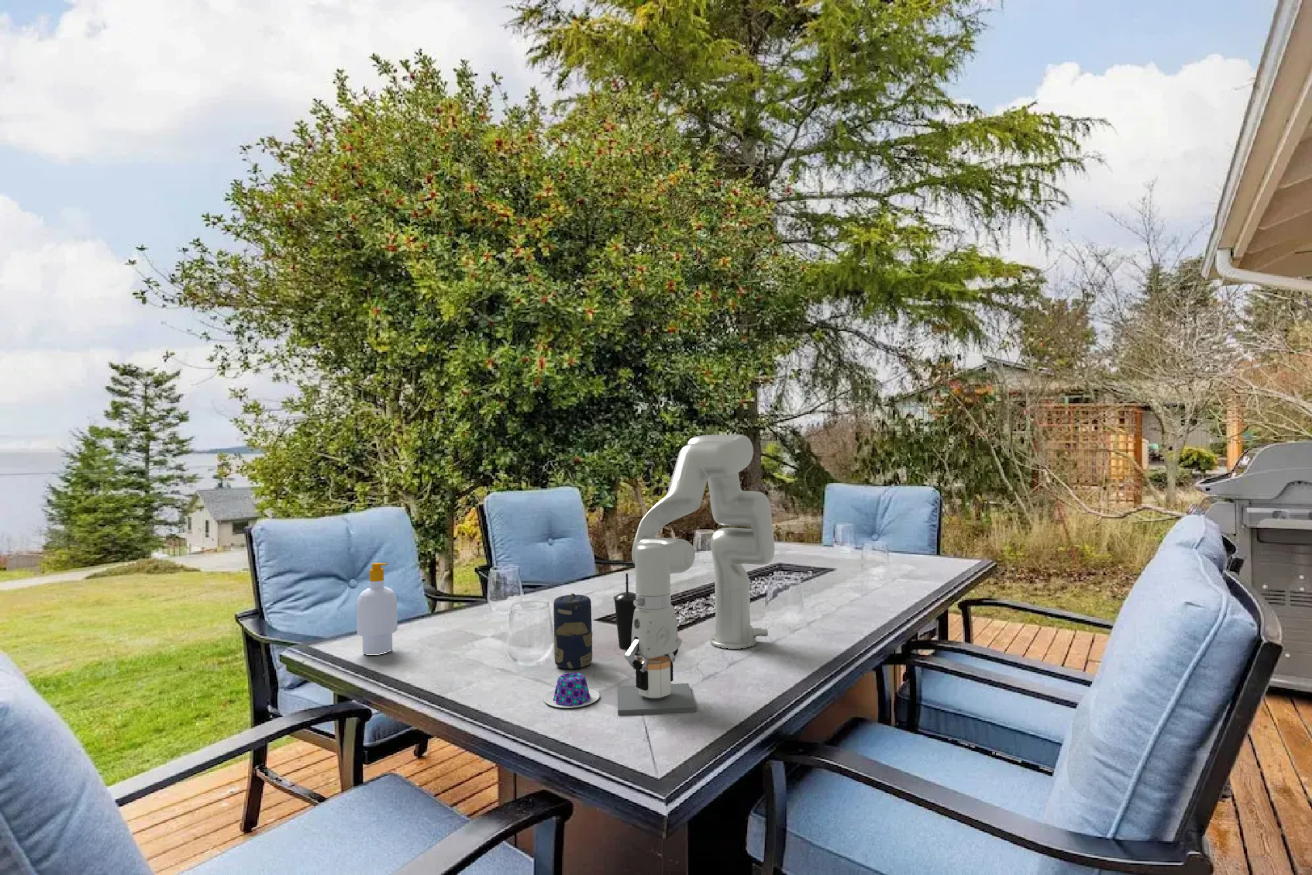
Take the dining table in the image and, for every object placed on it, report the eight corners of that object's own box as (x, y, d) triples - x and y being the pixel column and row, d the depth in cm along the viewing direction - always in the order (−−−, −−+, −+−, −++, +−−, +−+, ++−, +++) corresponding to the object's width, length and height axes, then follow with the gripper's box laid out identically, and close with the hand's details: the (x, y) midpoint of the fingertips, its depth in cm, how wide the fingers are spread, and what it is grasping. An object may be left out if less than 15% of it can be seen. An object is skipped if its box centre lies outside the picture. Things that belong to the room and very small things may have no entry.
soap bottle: (383, 659, 178) (382, 567, 179) (348, 657, 180) (347, 566, 181) (405, 647, 188) (404, 560, 189) (372, 646, 190) (371, 560, 191)
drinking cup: (638, 651, 181) (637, 576, 181) (610, 650, 183) (609, 575, 183) (644, 643, 188) (643, 571, 189) (618, 642, 190) (616, 570, 190)
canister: (598, 661, 174) (597, 590, 174) (582, 673, 165) (581, 598, 165) (565, 657, 177) (563, 588, 177) (547, 669, 168) (546, 596, 168)
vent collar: (677, 691, 146) (676, 658, 146) (654, 700, 141) (653, 666, 141) (655, 683, 151) (654, 652, 151) (632, 691, 146) (631, 659, 146)
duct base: (688, 687, 153) (688, 660, 153) (695, 711, 139) (695, 682, 139) (617, 690, 152) (617, 663, 152) (617, 714, 138) (617, 685, 138)
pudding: (559, 715, 139) (559, 690, 139) (534, 698, 149) (534, 674, 149) (609, 702, 146) (609, 677, 146) (583, 686, 156) (582, 663, 156)
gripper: (634, 611, 137) (636, 699, 137) (693, 597, 149) (695, 678, 149) (611, 605, 143) (612, 690, 143) (669, 592, 155) (671, 670, 155)
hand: (654, 683), depth 146 cm, fingers closed on vent collar, 6 cm apart
